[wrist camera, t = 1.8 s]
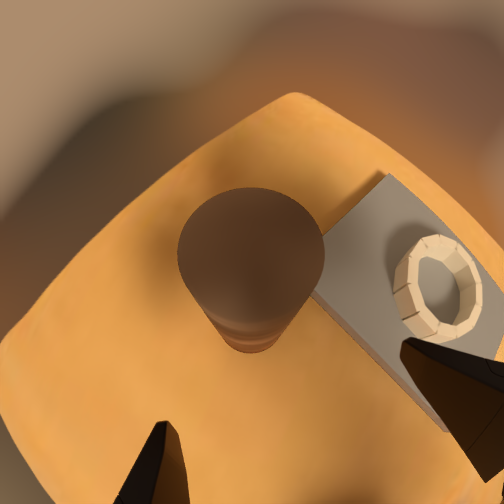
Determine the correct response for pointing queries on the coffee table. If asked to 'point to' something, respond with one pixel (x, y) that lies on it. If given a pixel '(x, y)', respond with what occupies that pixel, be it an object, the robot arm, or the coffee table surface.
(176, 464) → the robot arm
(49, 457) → the coffee table surface
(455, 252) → the base board
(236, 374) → the coffee table surface
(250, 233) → the walnut column
